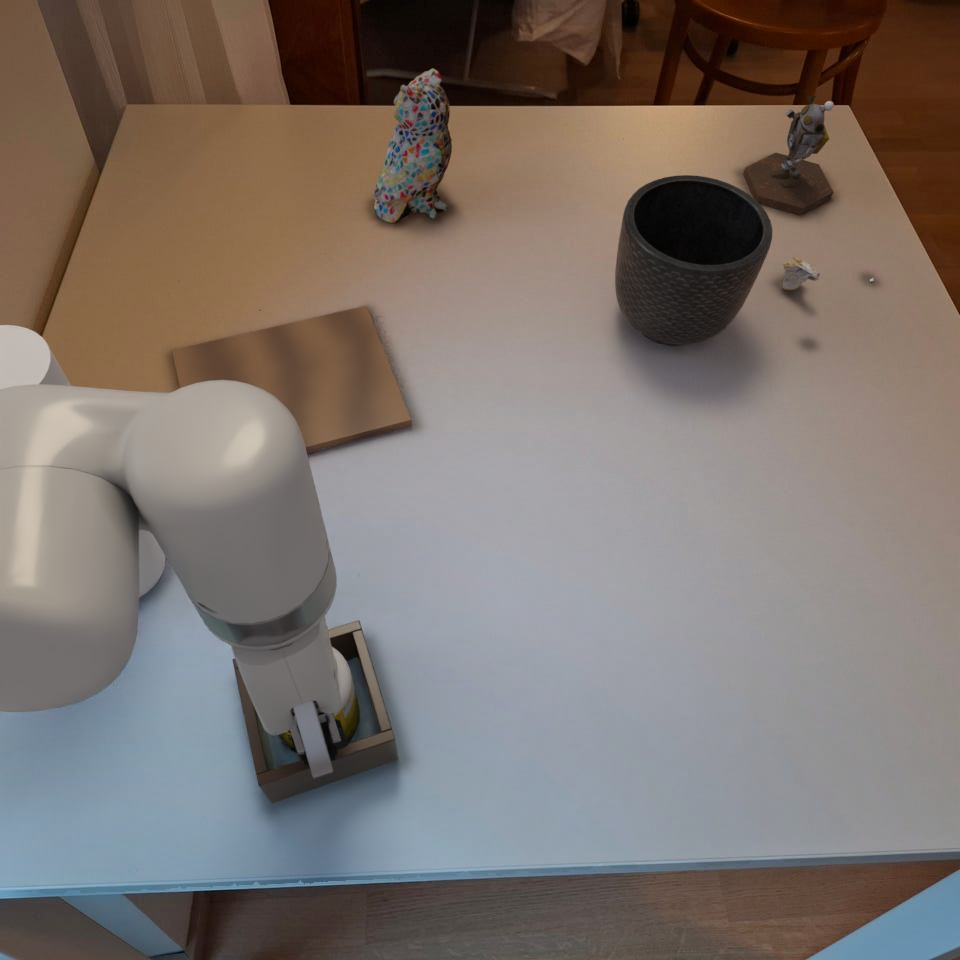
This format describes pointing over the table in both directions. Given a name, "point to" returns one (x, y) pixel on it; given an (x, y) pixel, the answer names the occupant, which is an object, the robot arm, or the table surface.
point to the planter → (688, 257)
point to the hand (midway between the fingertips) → (309, 690)
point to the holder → (348, 759)
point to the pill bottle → (349, 703)
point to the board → (311, 374)
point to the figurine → (416, 151)
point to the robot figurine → (794, 165)
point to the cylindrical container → (28, 360)
